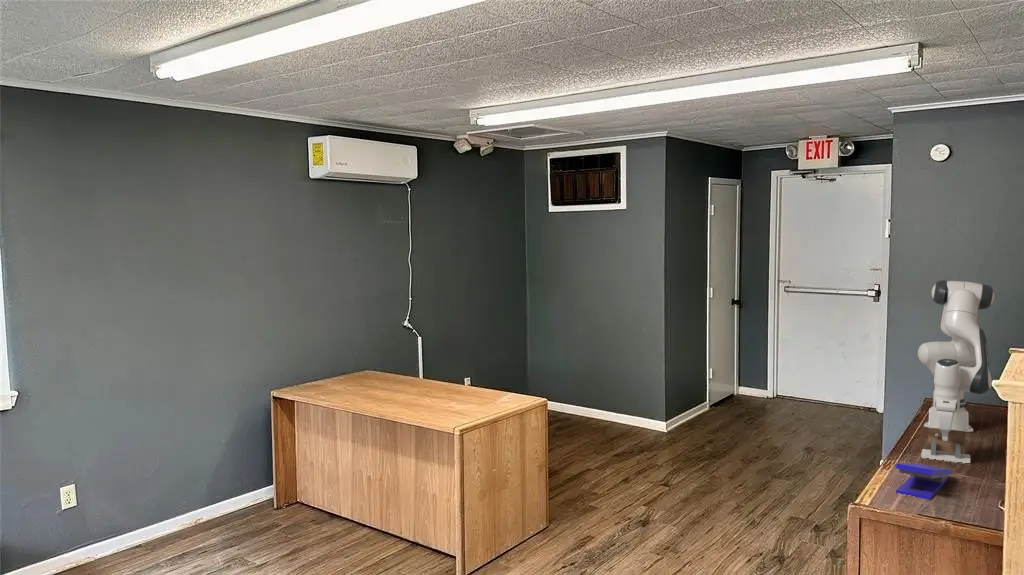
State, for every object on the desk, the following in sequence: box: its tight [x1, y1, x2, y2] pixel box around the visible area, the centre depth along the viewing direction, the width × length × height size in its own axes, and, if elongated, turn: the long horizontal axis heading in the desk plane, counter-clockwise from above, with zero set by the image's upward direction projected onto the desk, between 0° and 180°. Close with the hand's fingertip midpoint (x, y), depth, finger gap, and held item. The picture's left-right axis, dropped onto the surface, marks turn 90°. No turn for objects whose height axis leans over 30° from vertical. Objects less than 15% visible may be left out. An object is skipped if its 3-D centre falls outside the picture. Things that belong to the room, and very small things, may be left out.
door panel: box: [927, 427, 966, 454], centre depth 279 cm, size 4×12×8 cm, turn 58°
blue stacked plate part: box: [895, 463, 953, 501], centre depth 250 cm, size 12×28×10 cm, turn 138°
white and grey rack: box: [920, 440, 971, 464], centre depth 280 cm, size 8×16×7 cm, turn 58°
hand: (945, 437), depth 280 cm, fingers open, 8 cm apart
